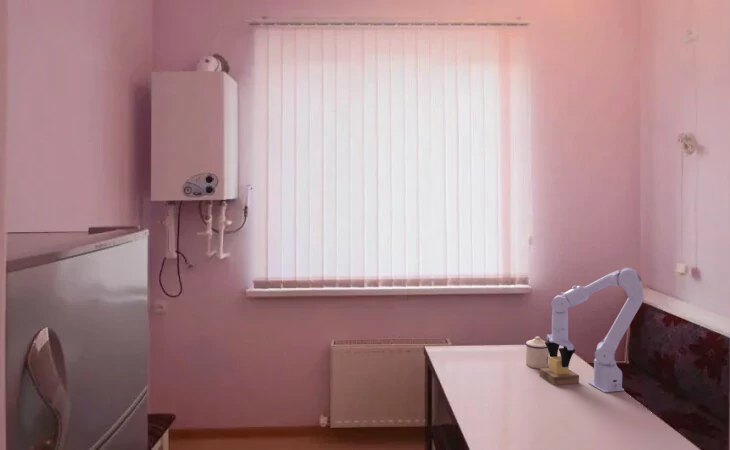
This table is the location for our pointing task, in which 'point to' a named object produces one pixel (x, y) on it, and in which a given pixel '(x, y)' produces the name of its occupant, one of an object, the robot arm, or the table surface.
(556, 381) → the walnut base
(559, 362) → the ochre block
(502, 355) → the table surface
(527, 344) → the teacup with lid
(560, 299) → the robot arm
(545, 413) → the table surface
